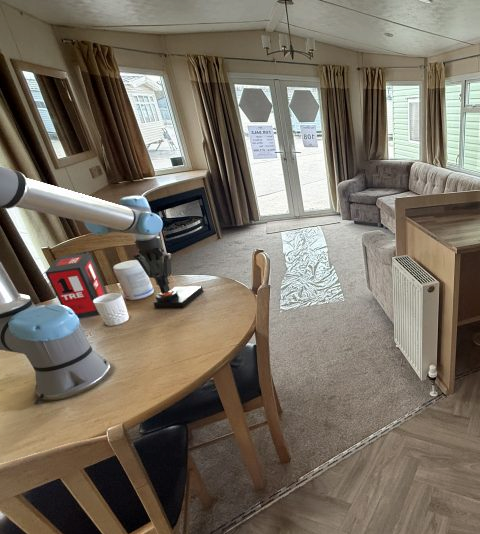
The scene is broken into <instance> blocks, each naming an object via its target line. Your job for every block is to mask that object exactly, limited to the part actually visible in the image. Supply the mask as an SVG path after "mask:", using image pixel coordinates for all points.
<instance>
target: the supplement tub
mask: <svg viewBox="0 0 480 534" xmlns="http://www.w3.org/2000/svg"><path fill="white" fill-rule="evenodd" d="M112 269H113V273H114V274H115V277H116V279H117V281H118V283H119V286H120V288H121V290H122V292H123V295H124V297H125V298H126V299H127V300H130V301H135V300H137V301H138V300H141V299H145V298H147V297H149V296H151V295H153V293H154V291H155V290H154V286H153V284H152V282H151V279H150V277H148V275H147V274H146V272H145V271H144V269H143V268H142V266H141V265H140V263H139V262H138V261H137V260H136V259H130V260H126V261H122V262H119V263H117V264H114V265H113V268H112Z"/></svg>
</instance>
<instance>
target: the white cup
mask: <svg viewBox="0 0 480 534" xmlns="http://www.w3.org/2000/svg"><path fill="white" fill-rule="evenodd" d="M93 303H94V305H95V307H96V309H97V311H98V312H99V316H100V318H101V319H102V321H103V323H104V325H106V326H110V327H112V326H113V327H114V326H118V325H121V324H124V323H126V322H128V320H129V319H130V316H129V312H128V308H127V305H126V303H125V300H124V297H123V294H122V293H121V292H111V293H108V294H105V295H102V296H99V297H97V298H96V299H94V300H93Z"/></svg>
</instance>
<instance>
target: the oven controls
mask: <svg viewBox="0 0 480 534" xmlns="http://www.w3.org/2000/svg"><path fill="white" fill-rule="evenodd" d="M170 290H171V291H172V293H173V294H171V295H169V296H164V297H161V296H160V293H161V291H160V292H158V293H156V294H155V301H153V302H152V303H153V306H154V309H184V308H186V307H187V306H188V305H190V303H192V302H193V301H194V300H195V299H196V298H198V297H200V295H201V294H202V293H204V288H203V286H202V285H201V286H200V285H198V286H197V285H194V286H193V285H191V286H190V285H189V286H188V285H187V286H186V285H184V286H183V285H182V286H179V285H177V286H174V287H173V288H171V289H170Z"/></svg>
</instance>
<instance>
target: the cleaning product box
mask: <svg viewBox="0 0 480 534" xmlns="http://www.w3.org/2000/svg"><path fill="white" fill-rule="evenodd" d="M44 274H45V275H46V277H47V279H48V281H49V284H50V286H51V287H52V289H53V291H54V293H55V295H56V298H57V299H58V301H59V303H60V305H63V306H67V307H69V308H71V309H72V310H73V311H74V313H75V315H77V317H78V318H79V319H83V318H88V317H93V316H94V317H95V316H98V315H99V316H100V314H99V312H98V311H97V309H96V307H95V305H94V303H93V300H94V299H96V298H97V297H99V296H102V295H105V294H109V293H108V290H107V288H106V286H105V283H104V282H103V279H102V276H101V274H100V272H99V270H98V267H97V265H96V263H95V260H94V258H93V256H92V253H91V252H86V253H85V252H84V253H78V254H69V255H62V256H58V257H57V259H55V261H54V262H53V263H52V264H51V265H50V266H49V267H48V269H47V270H46V271H45V272H44Z"/></svg>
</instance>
